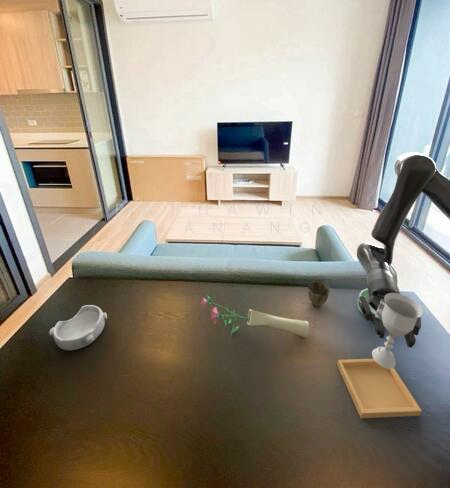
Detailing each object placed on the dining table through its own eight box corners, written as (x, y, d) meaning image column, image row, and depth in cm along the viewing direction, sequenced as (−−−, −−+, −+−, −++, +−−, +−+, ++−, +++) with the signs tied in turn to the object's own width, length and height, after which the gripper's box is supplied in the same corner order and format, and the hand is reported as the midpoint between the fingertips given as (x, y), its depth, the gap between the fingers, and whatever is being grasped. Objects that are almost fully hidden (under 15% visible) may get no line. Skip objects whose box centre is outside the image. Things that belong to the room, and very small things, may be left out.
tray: (385, 362, 71) (387, 358, 70) (419, 415, 59) (421, 410, 59) (336, 364, 71) (337, 359, 70) (360, 418, 59) (362, 413, 58)
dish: (46, 345, 76) (41, 334, 74) (82, 310, 88) (79, 299, 86) (83, 359, 72) (79, 348, 70) (115, 320, 84) (113, 310, 82)
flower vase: (298, 359, 79) (193, 337, 78) (294, 320, 89) (200, 300, 88) (313, 347, 72) (197, 322, 71) (307, 306, 81) (205, 283, 80)
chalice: (371, 368, 59) (390, 313, 52) (363, 342, 65) (379, 290, 59) (405, 376, 57) (429, 320, 51) (394, 348, 64) (414, 296, 57)
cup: (301, 304, 91) (304, 287, 88) (311, 293, 96) (314, 277, 93) (321, 316, 86) (324, 298, 83) (329, 304, 91) (333, 287, 88)
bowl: (383, 297, 94) (386, 287, 93) (408, 327, 82) (412, 317, 80) (350, 297, 94) (352, 288, 92) (370, 328, 82) (373, 318, 80)
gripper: (357, 271, 71) (364, 318, 56) (416, 285, 66) (440, 340, 51) (352, 291, 74) (357, 340, 59) (408, 305, 69) (429, 363, 54)
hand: (396, 340), depth 55 cm, fingers closed on chalice, 5 cm apart
